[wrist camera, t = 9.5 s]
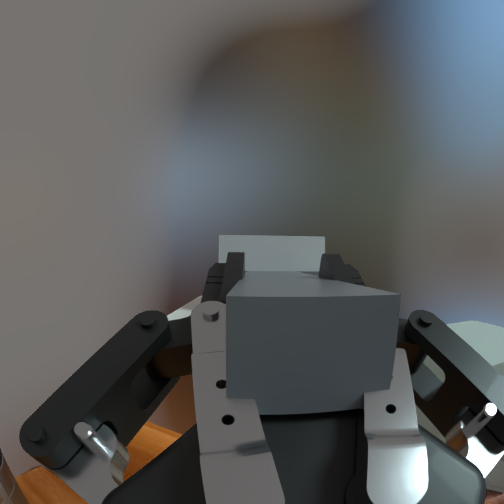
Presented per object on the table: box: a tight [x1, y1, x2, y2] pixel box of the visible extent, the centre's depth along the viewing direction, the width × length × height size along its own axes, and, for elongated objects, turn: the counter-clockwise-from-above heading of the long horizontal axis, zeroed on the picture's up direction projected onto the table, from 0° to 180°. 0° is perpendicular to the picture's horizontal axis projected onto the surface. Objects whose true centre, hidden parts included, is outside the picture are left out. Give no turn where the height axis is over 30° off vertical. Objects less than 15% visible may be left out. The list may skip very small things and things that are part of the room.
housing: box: [219, 235, 400, 415], centre depth 17 cm, size 23×8×5 cm, turn 179°
